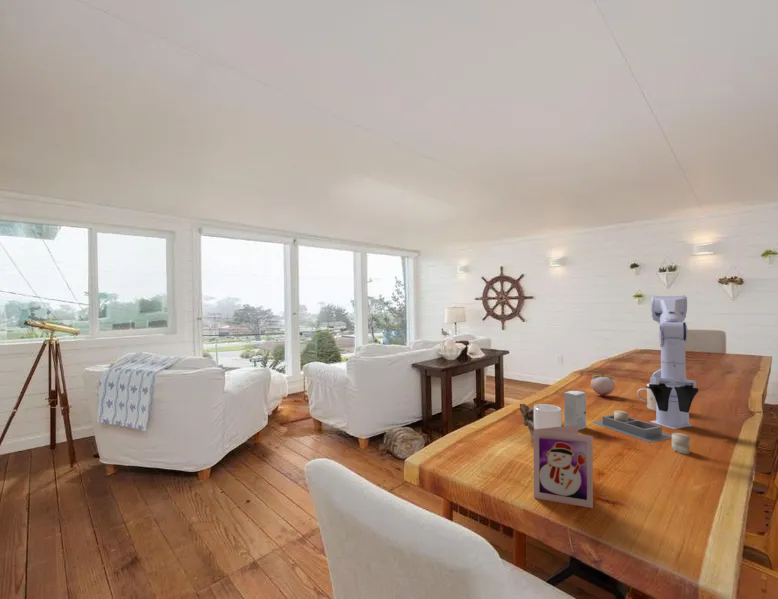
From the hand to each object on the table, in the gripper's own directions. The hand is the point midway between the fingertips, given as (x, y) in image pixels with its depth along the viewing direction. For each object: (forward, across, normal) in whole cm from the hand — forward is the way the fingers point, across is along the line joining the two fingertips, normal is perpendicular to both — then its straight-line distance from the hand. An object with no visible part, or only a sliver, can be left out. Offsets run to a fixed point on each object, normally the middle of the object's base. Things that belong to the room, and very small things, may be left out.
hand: (673, 411), depth 107 cm
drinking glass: (+16, -39, +2) cm, 42 cm away
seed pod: (+13, -30, +16) cm, 37 cm away
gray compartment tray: (+9, +3, +17) cm, 19 cm away
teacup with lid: (+4, +32, +33) cm, 47 cm away
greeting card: (+18, -46, -12) cm, 51 cm away
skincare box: (+10, -13, +23) cm, 28 cm away
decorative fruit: (+2, +27, +54) cm, 60 cm away
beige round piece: (+8, +2, +20) cm, 22 cm away
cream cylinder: (+11, +2, 0) cm, 11 cm away
